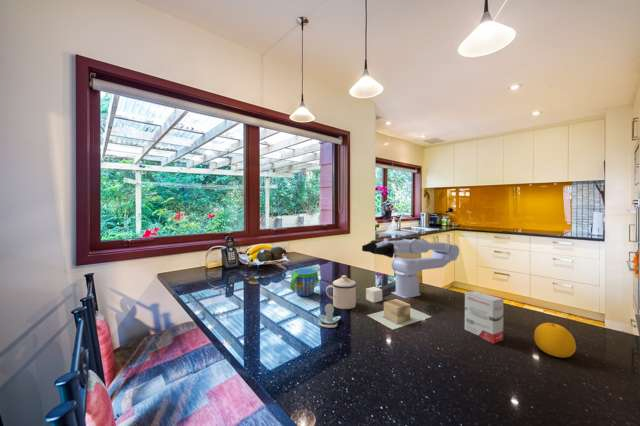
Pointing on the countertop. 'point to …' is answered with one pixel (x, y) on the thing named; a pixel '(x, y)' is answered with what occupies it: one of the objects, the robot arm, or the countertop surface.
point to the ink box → (484, 316)
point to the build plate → (392, 325)
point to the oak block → (397, 311)
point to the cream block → (374, 294)
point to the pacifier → (328, 317)
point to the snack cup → (304, 281)
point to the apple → (555, 340)
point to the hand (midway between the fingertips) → (368, 249)
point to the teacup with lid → (343, 293)
